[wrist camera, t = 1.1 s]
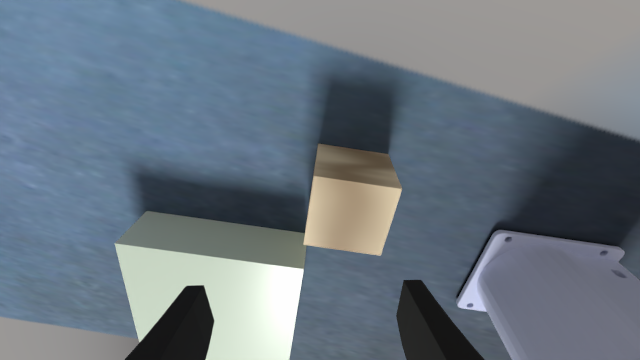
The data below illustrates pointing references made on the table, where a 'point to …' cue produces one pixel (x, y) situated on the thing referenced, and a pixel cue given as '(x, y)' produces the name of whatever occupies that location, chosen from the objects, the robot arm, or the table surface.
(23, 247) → the table surface
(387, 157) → the birch block
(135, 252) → the green box
